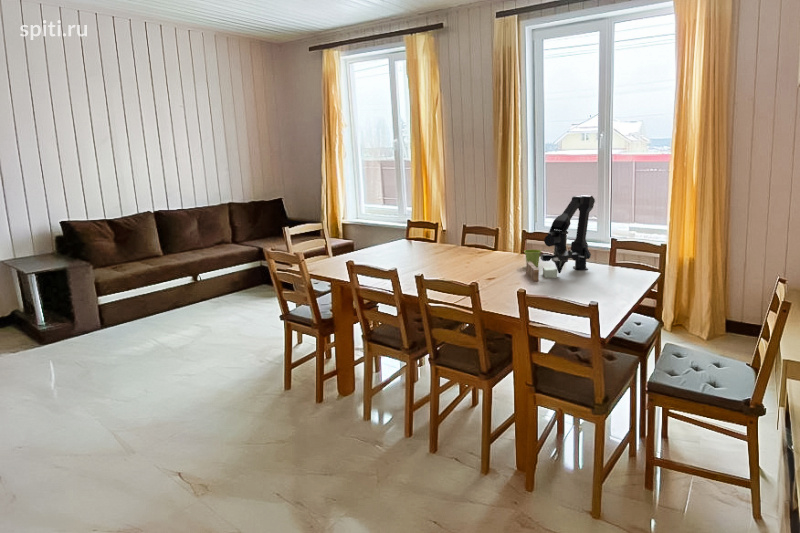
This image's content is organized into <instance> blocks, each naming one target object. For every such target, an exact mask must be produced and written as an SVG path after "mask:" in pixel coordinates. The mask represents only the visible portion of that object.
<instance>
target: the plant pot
mask: <svg viewBox="0 0 800 533" xmlns="http://www.w3.org/2000/svg"><path fill="white" fill-rule="evenodd" d="M523 252H524V254H525V261H526V264H527V262H532V263H533V264H534V265H535V266H536V267H537V268H538V267H539V263H540V256H541V254H542V250H541V249H540V250H539V249H525V250H523Z"/></svg>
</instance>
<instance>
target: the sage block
mask: <svg viewBox="0 0 800 533" xmlns="http://www.w3.org/2000/svg"><path fill="white" fill-rule="evenodd" d="M542 275H543V277H544V278H558V270H557V268H556V266H542Z"/></svg>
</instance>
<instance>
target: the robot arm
mask: <svg viewBox="0 0 800 533" xmlns="http://www.w3.org/2000/svg"><path fill="white" fill-rule="evenodd" d="M595 203H596V200H595V198H594V196H593V195H584V194H581V195H574V196H572V197H571V201H570V202H569V203H568V205H567V206H566V207H565V209H564V211H563V212H562V213H561V214H560V215H558V216H556V217H555V219H554V220H553V222H552V224H551V226H550V229H549V231H548V233H547V235H545V237H544V239H543V242H544V245H545V246H547V247H554V250H553V251H554V252H553V254H549V253H540V257H539V260H540V261H542V262H549V261H552V262H553V263H554V264H555V268H556V269H557V274H561V272H562V270H563V267H564V266H565V264H566V263H568V262H569V259H572V260H573V261H574V266H572V268H573V269H575V271H584V270H585V271H587V270H589V268H588V267H587V260H590V259H591V255H592V253H591V252H590V250H589V244H588V242H587V239H586V238H587V232H588V224H589V216H590V212H591V211H592V210H593V209H594V204H595ZM576 211H579V214H578V219H577V220H578V221H577V228H576V236H575V239H574V240H572V241H571V246H570V250H567V235H569V231H568V230H569V228H570V225H571V219H572V217H573V216H574V215H575V213H576Z"/></svg>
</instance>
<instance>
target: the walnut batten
mask: <svg viewBox="0 0 800 533" xmlns="http://www.w3.org/2000/svg"><path fill="white" fill-rule="evenodd" d="M539 272H540V269H539V268H538V267H536V266H535V265H534V264H533V263H532V262H527V263H526V274H527V275H528V277H529V278H530V279H531V281H533V282H539V278H540V277H539V276H540V273H539Z"/></svg>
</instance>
